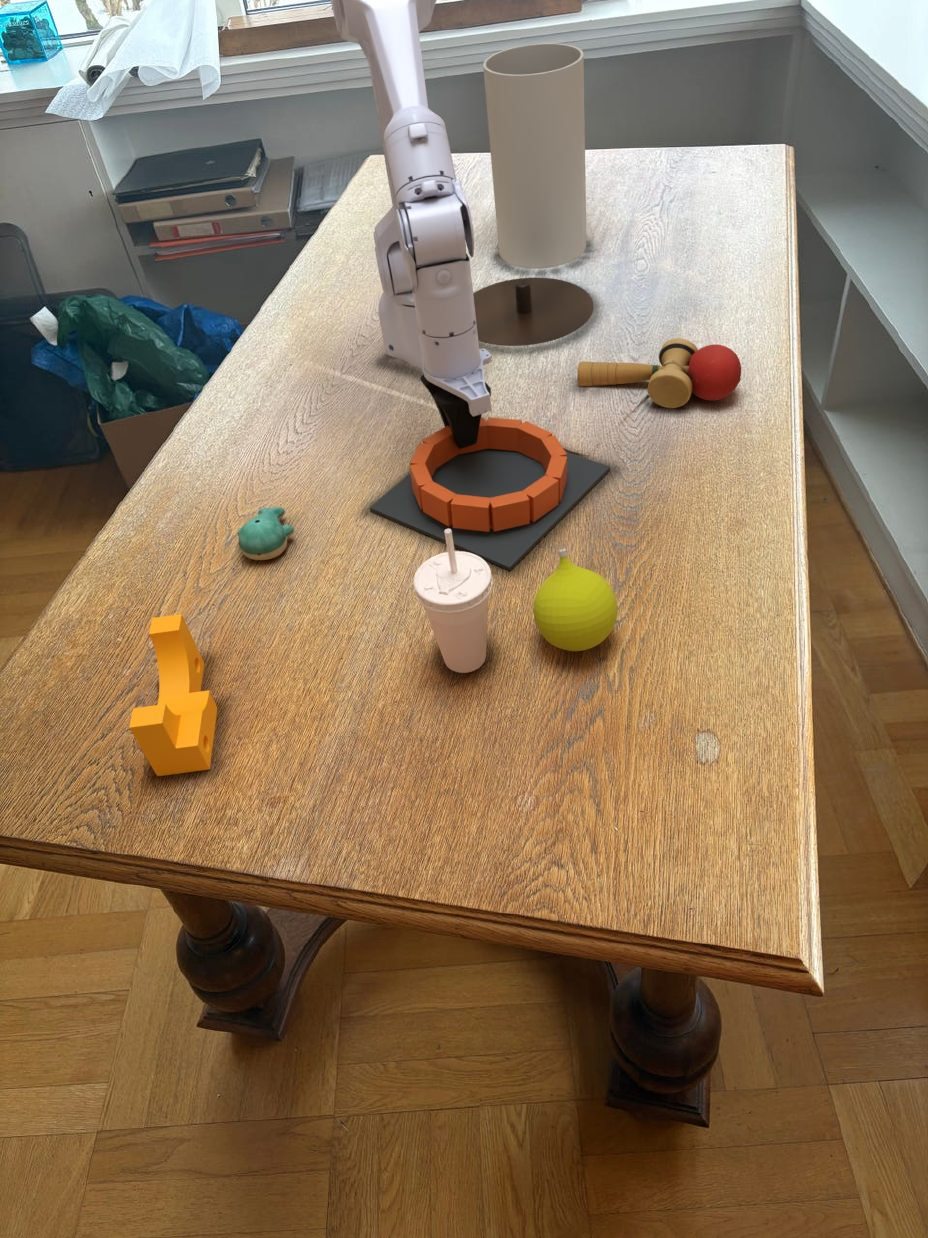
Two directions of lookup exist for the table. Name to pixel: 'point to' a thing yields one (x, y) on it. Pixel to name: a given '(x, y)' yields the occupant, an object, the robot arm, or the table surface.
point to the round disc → (530, 311)
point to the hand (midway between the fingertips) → (462, 438)
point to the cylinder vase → (538, 152)
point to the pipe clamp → (176, 704)
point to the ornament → (574, 607)
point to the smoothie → (456, 604)
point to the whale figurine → (264, 535)
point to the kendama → (673, 373)
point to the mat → (489, 479)
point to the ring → (500, 508)
